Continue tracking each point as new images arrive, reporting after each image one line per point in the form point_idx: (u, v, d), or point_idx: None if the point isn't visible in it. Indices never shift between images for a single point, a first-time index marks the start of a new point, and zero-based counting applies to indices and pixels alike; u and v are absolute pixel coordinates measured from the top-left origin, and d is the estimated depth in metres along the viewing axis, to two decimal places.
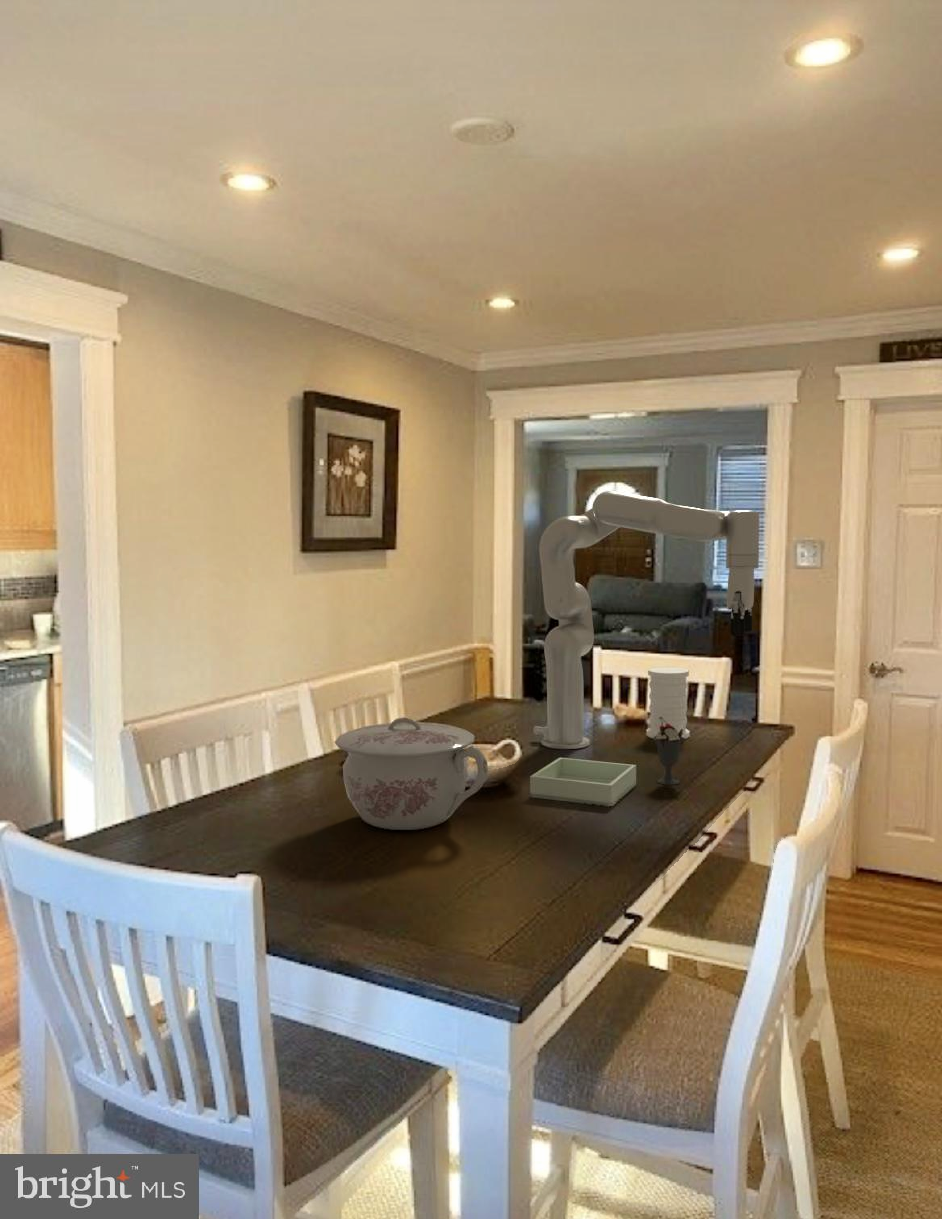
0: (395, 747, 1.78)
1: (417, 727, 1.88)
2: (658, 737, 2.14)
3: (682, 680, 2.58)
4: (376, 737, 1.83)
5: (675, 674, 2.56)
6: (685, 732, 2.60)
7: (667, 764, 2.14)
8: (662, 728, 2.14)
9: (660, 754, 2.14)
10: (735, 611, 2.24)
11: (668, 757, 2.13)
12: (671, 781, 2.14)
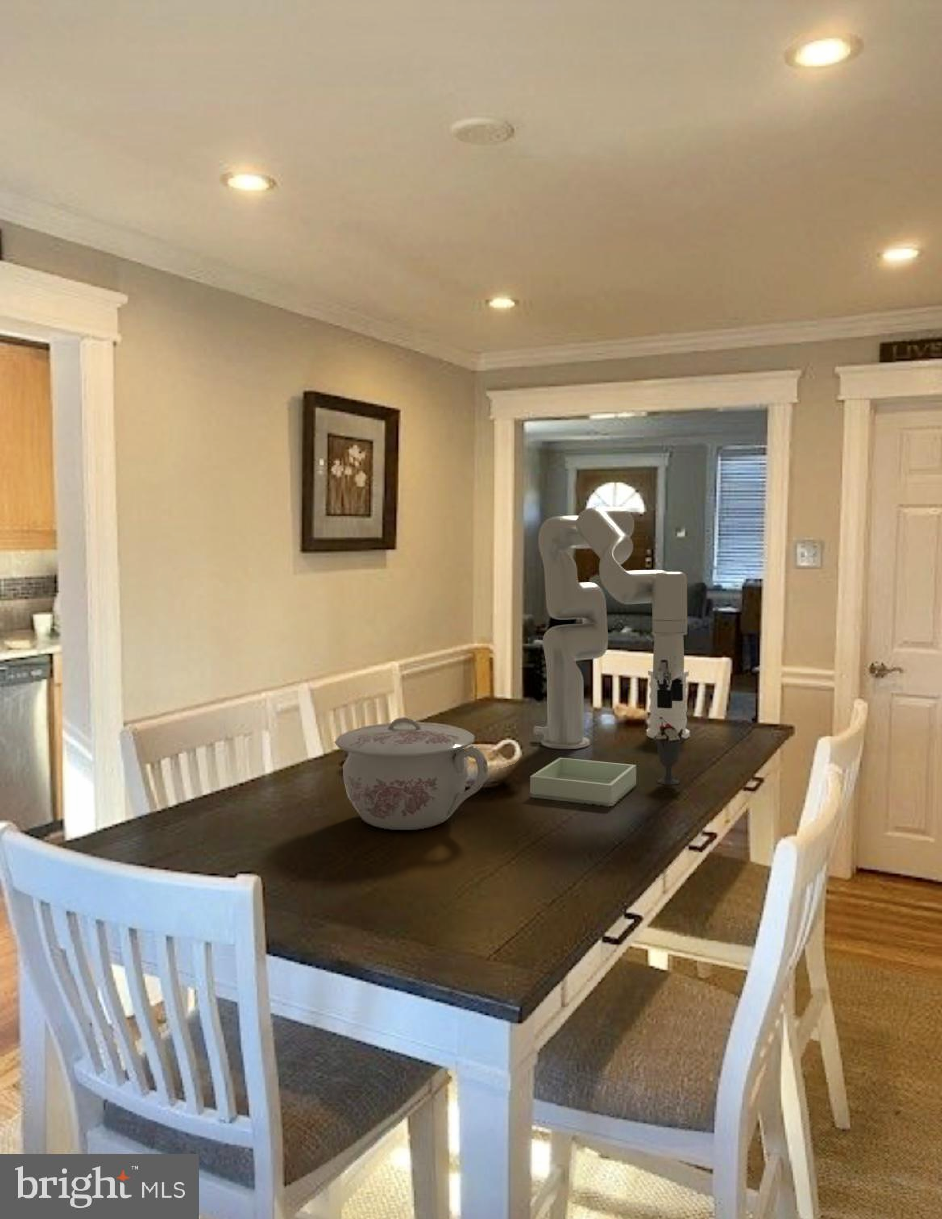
0: (395, 747, 1.78)
1: (417, 727, 1.88)
2: (658, 737, 2.14)
3: None
4: (375, 737, 1.83)
5: None
6: (685, 732, 2.60)
7: (667, 764, 2.14)
8: (662, 728, 2.14)
9: (660, 754, 2.14)
10: (660, 682, 2.06)
11: (668, 757, 2.13)
12: (671, 781, 2.14)
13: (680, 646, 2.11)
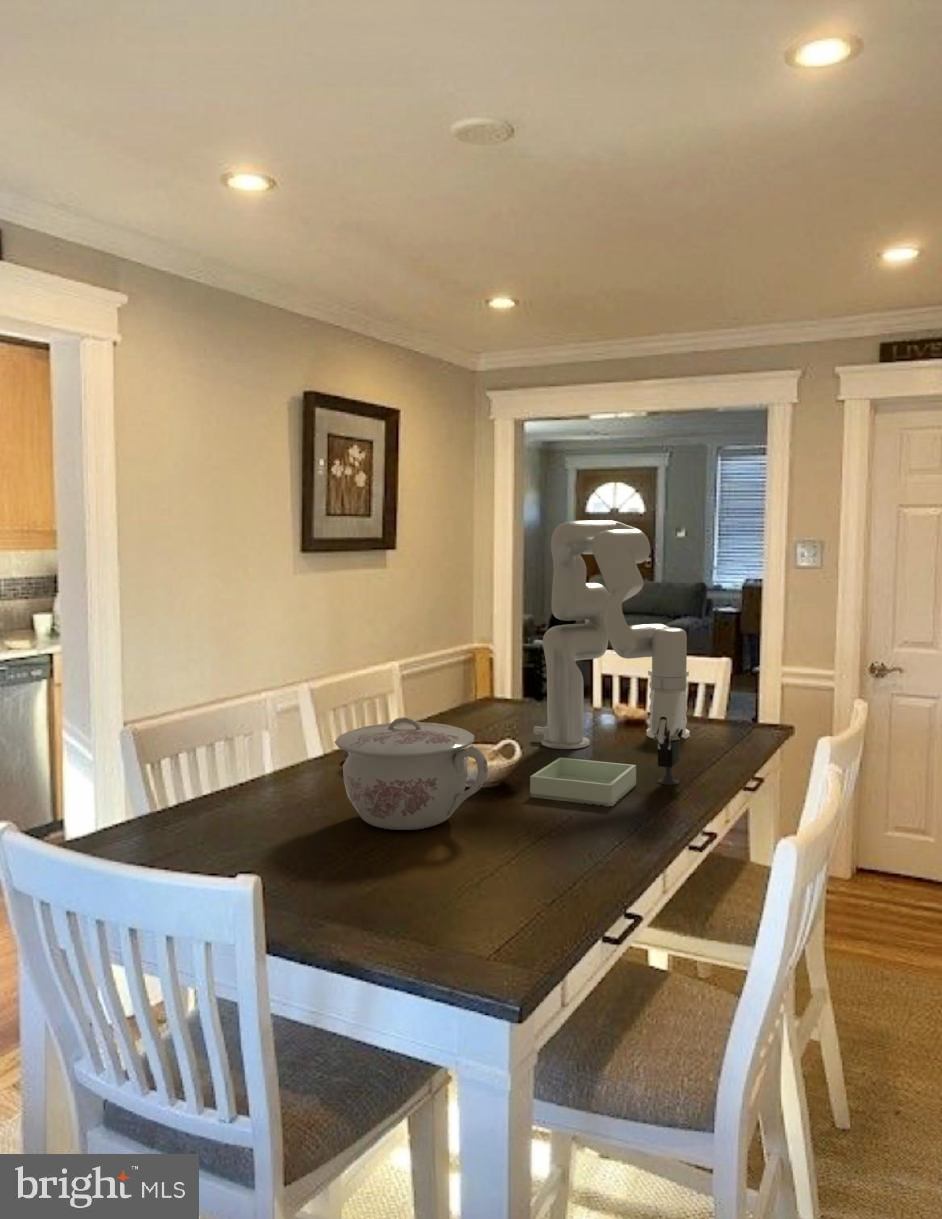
0: (395, 747, 1.78)
1: (417, 727, 1.88)
2: None
3: None
4: (375, 737, 1.83)
5: None
6: (685, 732, 2.60)
7: None
8: None
9: None
10: (662, 743, 2.10)
11: None
12: (671, 781, 2.14)
13: (679, 702, 2.12)
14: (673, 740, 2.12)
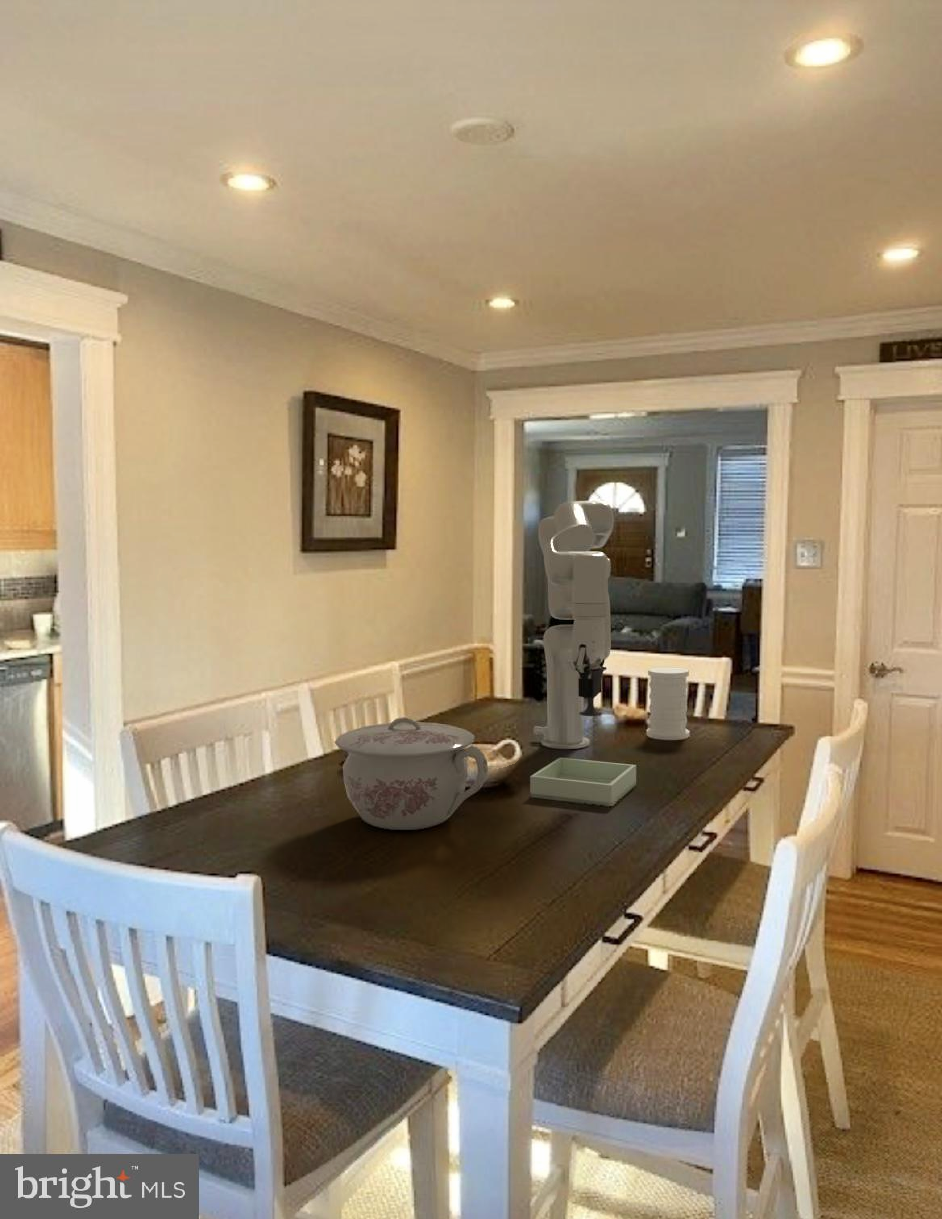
0: (395, 747, 1.78)
1: (417, 727, 1.88)
2: None
3: (682, 680, 2.58)
4: (375, 737, 1.83)
5: (675, 674, 2.56)
6: (685, 732, 2.60)
7: None
8: None
9: None
10: (581, 672, 2.03)
11: None
12: (593, 712, 2.07)
13: (600, 630, 2.05)
14: (594, 669, 2.05)
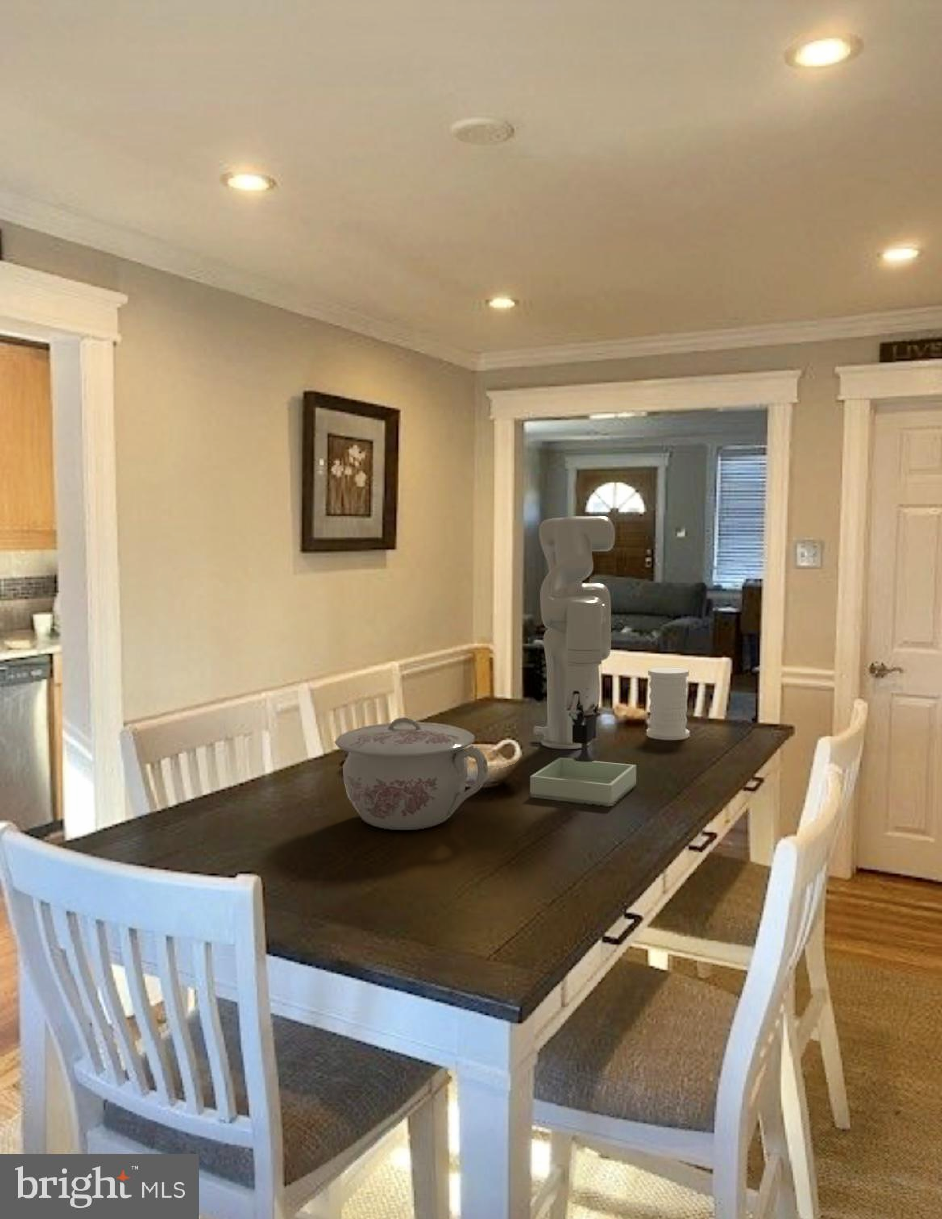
0: (395, 747, 1.78)
1: (417, 727, 1.88)
2: None
3: (682, 680, 2.58)
4: (376, 737, 1.83)
5: (675, 674, 2.56)
6: (685, 732, 2.60)
7: None
8: None
9: None
10: (575, 718, 2.03)
11: None
12: (586, 758, 2.07)
13: (594, 676, 2.06)
14: (588, 715, 2.05)
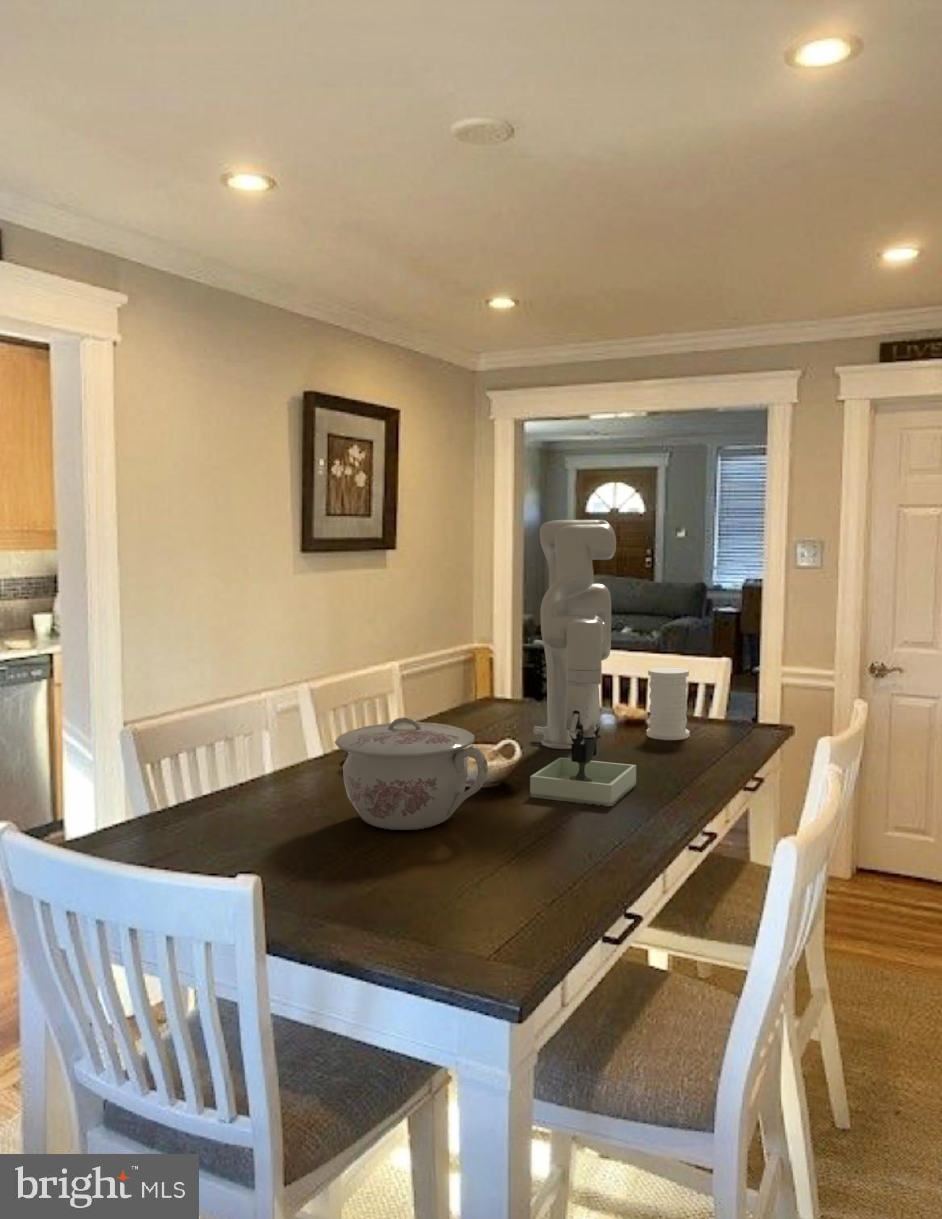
0: (395, 747, 1.78)
1: (417, 727, 1.88)
2: None
3: (682, 680, 2.58)
4: (376, 737, 1.83)
5: (675, 674, 2.56)
6: (685, 732, 2.60)
7: None
8: None
9: None
10: (574, 738, 2.03)
11: None
12: (583, 779, 2.08)
13: (594, 696, 2.06)
14: (588, 737, 2.06)
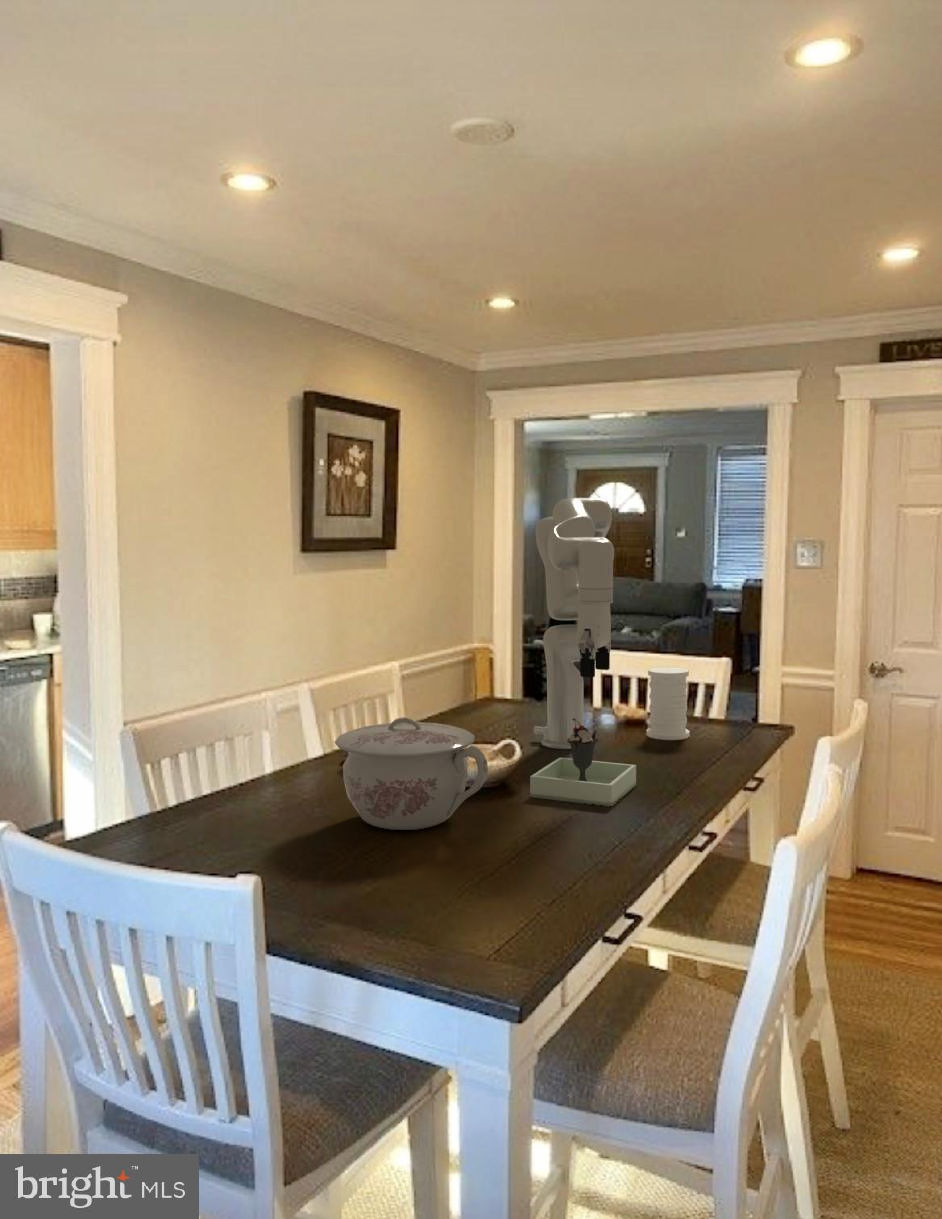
0: (395, 747, 1.78)
1: (417, 727, 1.88)
2: (571, 739, 2.09)
3: (682, 680, 2.58)
4: (376, 737, 1.83)
5: (675, 674, 2.56)
6: (685, 732, 2.60)
7: (580, 766, 2.09)
8: (575, 730, 2.10)
9: (573, 756, 2.10)
10: (582, 651, 2.05)
11: (581, 759, 2.09)
12: None
13: (605, 615, 2.10)
14: (586, 742, 2.08)
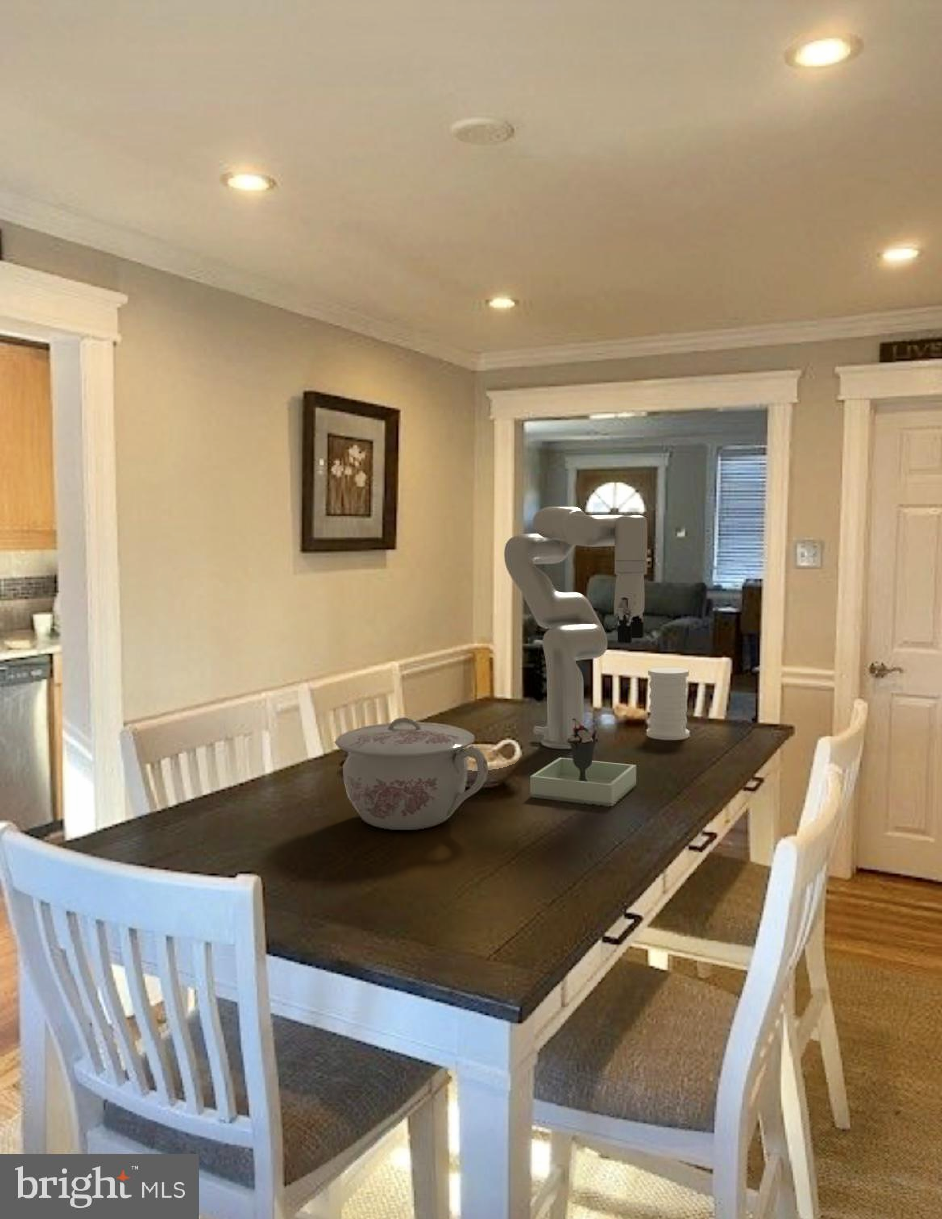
0: (395, 747, 1.78)
1: (417, 727, 1.88)
2: (571, 739, 2.09)
3: (682, 680, 2.58)
4: (375, 737, 1.83)
5: (675, 674, 2.56)
6: (685, 732, 2.60)
7: (580, 766, 2.09)
8: (575, 730, 2.10)
9: (573, 756, 2.10)
10: (620, 618, 2.21)
11: (581, 759, 2.09)
12: None
13: (640, 585, 2.25)
14: (586, 742, 2.08)
